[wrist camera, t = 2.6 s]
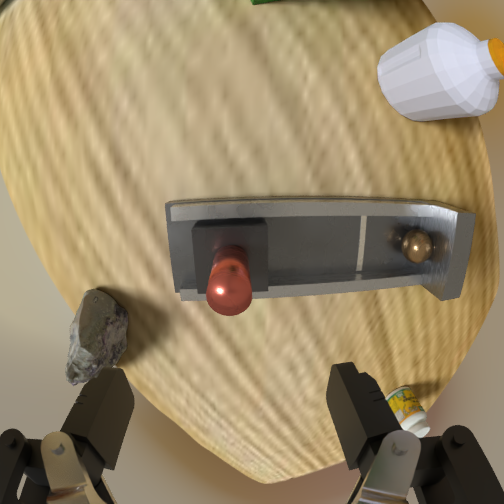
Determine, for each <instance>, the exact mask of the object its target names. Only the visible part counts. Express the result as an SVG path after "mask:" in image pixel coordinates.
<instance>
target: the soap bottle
mask: <svg viewBox="0 0 504 504" xmlns="http://www.w3.org/2000/svg"><path fill="white" fill-rule="evenodd" d="M377 72H378V82H379V84H380V87H381V90H382V93H383V94H384V96H385V97H386V99H387V100H388V102H389V104H390V105H391V106H392V107H393V108H394V109H395V110H396V111H397V112H399V113H400V114H401V115H403V116H405V117H407V118H409V119H411V120H414V121H430V120H439V119H448V118H459V117H472V116H480V115H483V114H485V113H487V112H489V111H490V110H492V109H493V107H494V106H495V104H496V102H497V99H498V93H499V79H504V44H503V43H502V42H501V41H500V40H499V39H497V38H494V39H488V40H485V41H482V42H481V41H480V40H479V39H478V38H476V37H475V36H474V35H473V34H472V33H470V32H469V31H468V30H466V29H465V28H463V27H461V26H459V25H457V24H455V23H434V24H432V25H430V26H428V27H427V28H425V29H423V30H421V31H419V32H418V33H416V34H414V35H412V36H411V37H409V38H407V39H406V40H404V41H402V42H401V43H399V44H397V45H396V46H394V47H392V48H391V49H389V50H388V51H387V52H385V53H384V54H383V55H382V56H381V58H380V61H379V63H378V66H377Z"/></svg>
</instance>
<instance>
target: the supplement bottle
mask: <svg viewBox="0 0 504 504" xmlns="http://www.w3.org/2000/svg"><path fill="white" fill-rule="evenodd" d="M386 400H387V402H388V403H389V405H390V407H391V409H392V411H393V413H394V414H395V416H396V418H397V420H398V422H399V424H400V425H401V427H402V429H403V430H406V431H409V432H412V433H413V434H415V435H416V436H417V437H419V438H422V437H423V436H425V435H426V434H427V433H428V432H429V430H430V427H429V425H428V423H427V422H425V420H426V418H427V416H426V412H425V411H424V409H423V408H422V406H421V405H420V403H419V402H418V400H417V398H416V397H415V395H414V394H413V392H412V391H411V389H410V388H409V387H400V388H398V389H396V390H394V391H392V392H391V393H390V394H389V395H388V396H387V397H386Z"/></svg>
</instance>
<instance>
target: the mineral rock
mask: <svg viewBox="0 0 504 504" xmlns="http://www.w3.org/2000/svg"><path fill="white" fill-rule="evenodd" d="M127 314H128V313H127V311H126V310H125V309H124V308H122V307H120V306H119V305H118V304H117V303H116V301H115V300H114V299H113V298H112V297H111V296H109V295H108V294H106V293H104V292H102V291H99V290H96V289H91V290H88V291H86V292H85V293H84V296H83V299H82V302H81V304H80V306H79V309H78V310H77V313H76V316H75V319H74V321H73V322H72V324H71V325H70V341H71V344H70V350H69V354H68V363H67V365H66V368H65V373H66V376H67V379H66V380H67V381H69V383H71V384H72V385H73V386H74V385H77V384H78V383H84V382H87V381H90V380H91V379H92V378H93V377H95V378H97V377H98V375H99V373H100V371H101V369H102V368H103V367H113V366H114V365H115V364H117V363H118V361H119V360H120V357H121V355H122V353H124V352H125V350H126V349H127V340H126V331H127V326H128V317H127Z"/></svg>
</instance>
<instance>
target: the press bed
mask: <svg viewBox="0 0 504 504" xmlns="http://www.w3.org/2000/svg"><path fill="white" fill-rule="evenodd" d="M165 210H166V221H167V231H168V240H169V249H170V257H171V265H172V273H173V280H174V287H175V293H180V296H181V301H203V300H207V299H206V294H198V292H197V283H196V274H195V265H194V255H193V244H192V232H191V229H192V228H193V226H194V225H195V223H196V222H197V220H217V219H241V218H264V219H265V221H266V223H267V225H268V291H265V292H252V299H259V298H278V297H294V296H309V295H322V294H334V293H346V292H357V291H367V290H377V289H386V288H395V287H404V286H412V285H422V286H423V287H424V288H425V289H427V290H428V291H429V292H431V293H432V294H433V295H434V296H436V297H437V298H438V299H439V300H440V301H444V300H449V299H454V298H459V297H460V294H461V290H462V286H463V282H464V278H465V274H466V270H467V265H468V260H469V255H470V250H471V244H472V238H473V232H474V224H475V216H476V214H475V213H472V212H469V211H466V210H463V209H460V208H457V207H453V206H450V205H447V204H444V203H442V202H439V201H433V200H418V199H402V198H381V197H349V196H269V197H236V198H214V199H196V200H181V201H169V202H167V203H165Z"/></svg>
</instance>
